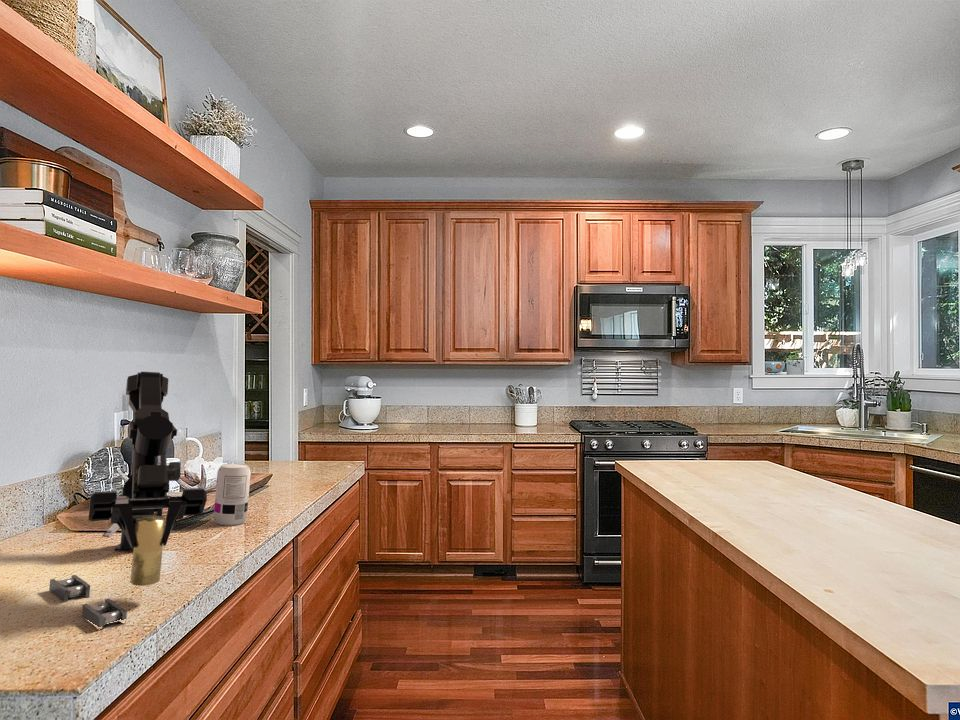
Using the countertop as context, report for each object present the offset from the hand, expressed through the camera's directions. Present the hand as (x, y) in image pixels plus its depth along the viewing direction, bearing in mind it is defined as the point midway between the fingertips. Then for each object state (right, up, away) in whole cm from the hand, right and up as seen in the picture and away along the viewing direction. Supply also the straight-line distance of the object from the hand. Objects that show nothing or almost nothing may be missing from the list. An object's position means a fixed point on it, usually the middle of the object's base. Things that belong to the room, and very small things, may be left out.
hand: (149, 545), depth 107 cm
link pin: (-1, -7, +1) cm, 7 cm away
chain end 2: (-4, -10, -7) cm, 13 cm away
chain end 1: (-15, -9, +2) cm, 18 cm away
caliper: (-31, -9, +45) cm, 55 cm away
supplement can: (-8, -11, +55) cm, 57 cm away
